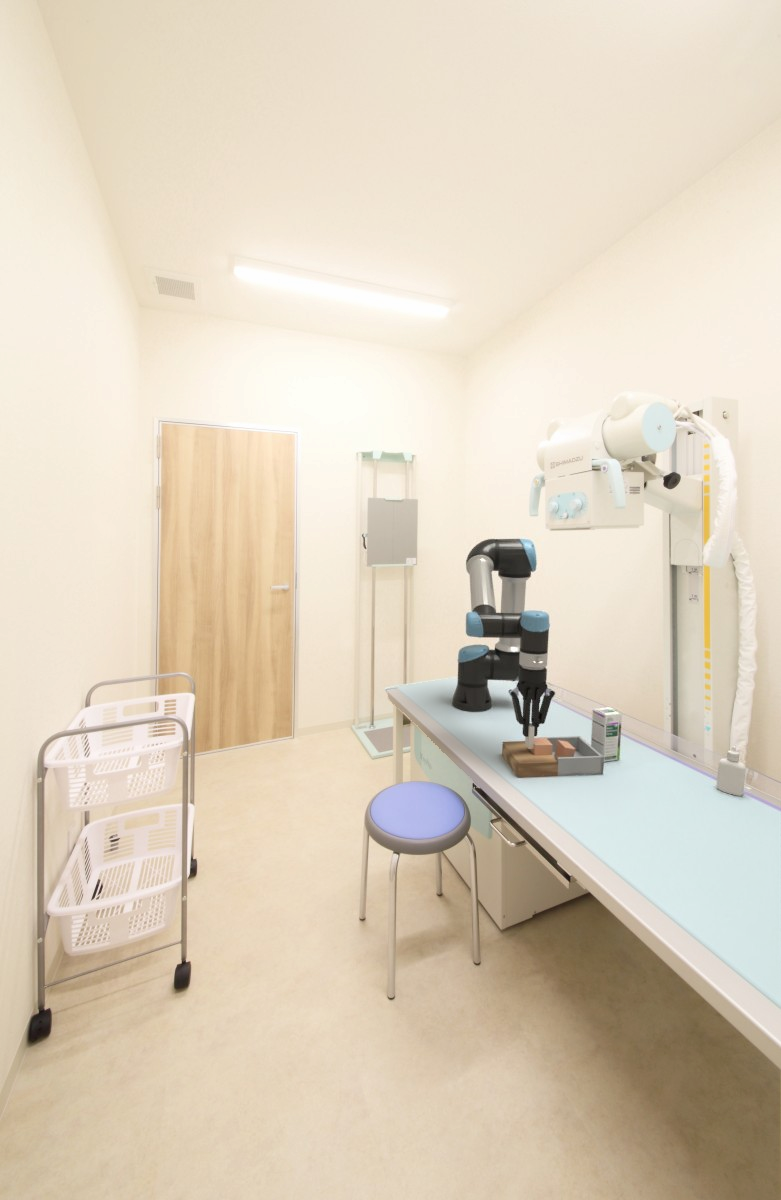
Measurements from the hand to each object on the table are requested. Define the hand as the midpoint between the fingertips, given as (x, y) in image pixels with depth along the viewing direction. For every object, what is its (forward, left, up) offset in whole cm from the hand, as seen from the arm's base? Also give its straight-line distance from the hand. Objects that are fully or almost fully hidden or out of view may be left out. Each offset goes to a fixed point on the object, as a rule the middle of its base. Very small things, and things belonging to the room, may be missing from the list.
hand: (529, 746), depth 135 cm
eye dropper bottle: (+18, +47, -6) cm, 50 cm away
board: (0, 0, -5) cm, 5 cm away
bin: (0, +12, -5) cm, 13 cm away
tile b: (0, +9, -2) cm, 9 cm away
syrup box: (-3, +25, -6) cm, 25 cm away
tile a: (0, +3, -1) cm, 3 cm away
